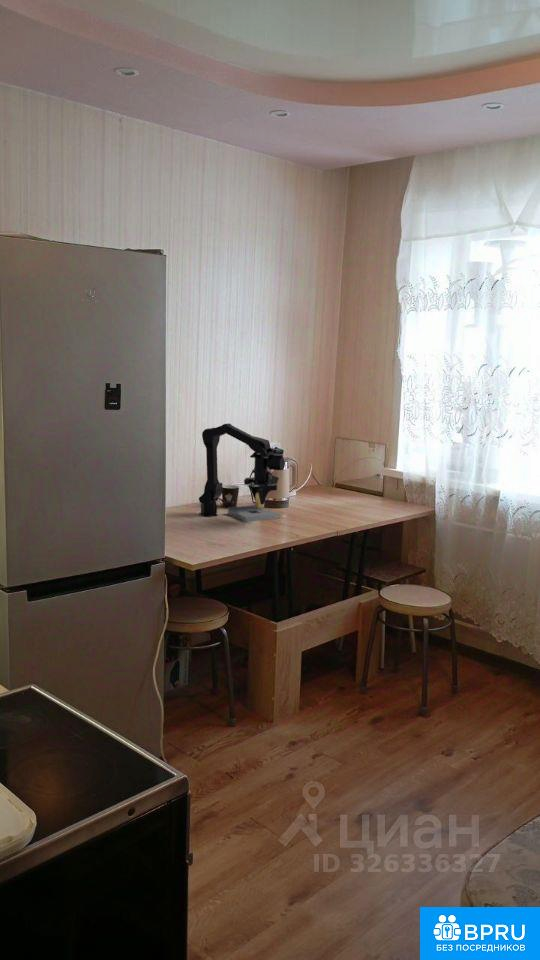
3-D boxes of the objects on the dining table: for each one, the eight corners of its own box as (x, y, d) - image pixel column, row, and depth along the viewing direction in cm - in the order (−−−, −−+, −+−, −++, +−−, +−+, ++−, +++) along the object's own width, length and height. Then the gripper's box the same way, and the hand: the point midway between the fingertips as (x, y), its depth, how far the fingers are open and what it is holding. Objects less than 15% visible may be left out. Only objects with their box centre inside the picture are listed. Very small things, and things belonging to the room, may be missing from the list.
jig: (245, 521, 345) (245, 514, 344) (227, 514, 358) (228, 507, 358) (279, 518, 355) (279, 511, 354) (261, 511, 368) (261, 504, 367)
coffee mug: (242, 507, 376) (242, 486, 374) (231, 509, 368) (232, 489, 367) (222, 503, 382) (223, 483, 380) (212, 506, 374) (212, 485, 373)
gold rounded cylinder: (258, 509, 341) (258, 493, 340) (253, 507, 345) (253, 491, 343) (265, 508, 343) (266, 492, 342) (261, 506, 347) (261, 491, 346)
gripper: (288, 470, 337) (286, 505, 340) (265, 464, 353) (264, 498, 356) (266, 472, 332) (264, 507, 334) (244, 465, 347) (243, 499, 350)
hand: (259, 503), depth 344 cm, fingers closed on gold rounded cylinder, 4 cm apart
